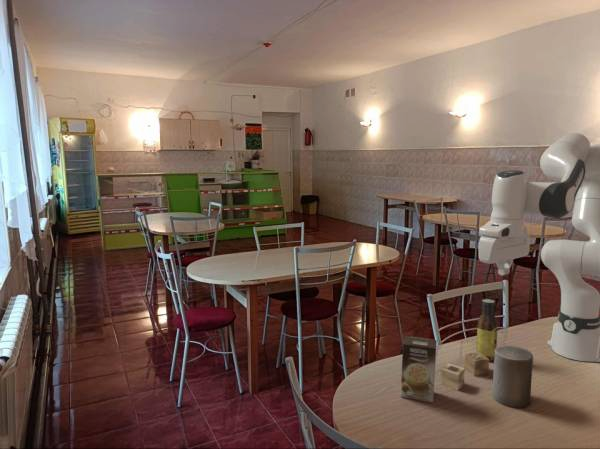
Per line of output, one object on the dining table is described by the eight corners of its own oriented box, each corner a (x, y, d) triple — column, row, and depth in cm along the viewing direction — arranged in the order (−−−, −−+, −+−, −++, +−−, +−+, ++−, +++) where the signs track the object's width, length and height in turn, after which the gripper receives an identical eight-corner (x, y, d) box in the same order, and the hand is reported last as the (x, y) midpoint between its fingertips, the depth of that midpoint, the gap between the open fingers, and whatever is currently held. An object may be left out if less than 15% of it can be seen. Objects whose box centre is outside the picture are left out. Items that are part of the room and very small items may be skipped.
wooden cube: (478, 367, 141) (479, 351, 140) (488, 374, 136) (489, 358, 135) (464, 368, 140) (465, 353, 139) (474, 376, 135) (475, 360, 134)
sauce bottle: (498, 362, 144) (501, 304, 141) (477, 361, 145) (481, 303, 142) (493, 354, 150) (496, 298, 147) (474, 352, 151) (477, 297, 148)
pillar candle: (538, 404, 119) (542, 352, 117) (510, 411, 116) (514, 357, 114) (510, 387, 128) (513, 338, 126) (483, 393, 125) (486, 343, 123)
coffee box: (399, 397, 123) (401, 343, 121) (402, 386, 129) (403, 334, 127) (433, 403, 120) (435, 348, 118) (434, 391, 126) (436, 338, 124)
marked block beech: (447, 378, 134) (448, 362, 133) (463, 384, 130) (464, 367, 130) (440, 385, 130) (441, 368, 129) (457, 390, 127) (458, 374, 126)
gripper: (516, 223, 134) (513, 267, 136) (475, 229, 122) (472, 277, 124) (537, 225, 128) (533, 271, 130) (496, 232, 117) (493, 282, 119)
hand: (503, 274), depth 127 cm, fingers closed
